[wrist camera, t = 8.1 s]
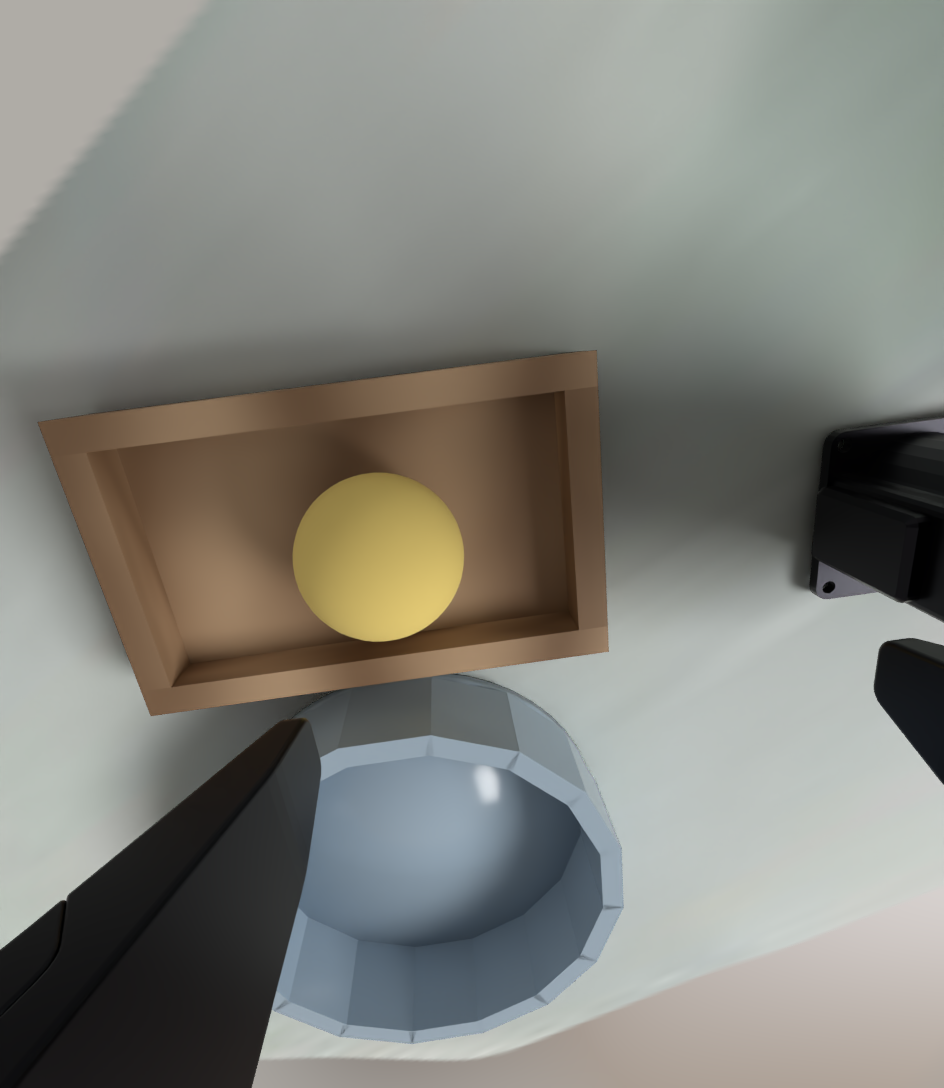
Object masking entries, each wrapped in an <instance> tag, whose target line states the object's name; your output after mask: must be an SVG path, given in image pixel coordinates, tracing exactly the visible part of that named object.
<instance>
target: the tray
mask: <svg viewBox="0 0 944 1088" xmlns="http://www.w3.org/2000/svg"><path fill="white" fill-rule="evenodd" d="M38 425H39V427H40V430H41V433H42V435H43V438H44V440H45V443H46V446H47V448H48V451H49V453H50V456H51V458H52V461H53V464H54V466H55V469H56V471H57V474H58V477H59V479H60V482H61V484H62V487H63V490H64V492H65V495H66V497H67V500H68V503H69V505H70V508H71V510H72V513H73V516H74V518H75V521H76V523H77V526H78V529H79V531H80V534H81V536H82V539H83V541H84V544H85V547H86V549H87V552H88V554H89V557H90V560H91V562H92V565H93V567H94V570H95V573H96V575H97V578H98V580H99V583H100V586H101V588H102V591H103V593H104V596H105V599H106V601H107V604H108V606H109V609H110V611H111V614H112V617H113V619H114V622H115V624H116V627H117V630H118V632H119V635H120V637H121V640H122V643H123V645H124V648H125V650H126V653H127V656H128V658H129V661H130V663H131V666H132V669H133V671H134V674H135V676H136V679H137V682H138V684H139V687H140V689H141V692H142V694H143V697H144V700H145V702H146V705H147V707H148V710H149V713H150V715H151V716H155V715H162V714H169V713H176V712H183V711H190V710H198V709H205V708H212V707H219V706H226V705H233V704H240V703H247V702H254V701H261V700H268V699H276V698H283V697H290V696H297V695H304V694H311V693H318V692H325V691H332V690H339V689H347V688H354V687H361V686H368V685H375V684H382V683H389V682H396V681H403V680H410V679H417V678H425V677H432V676H439V675H446V674H453V673H460V672H467V671H474V670H481V669H488V668H495V667H503V666H510V665H517V664H524V663H531V662H538V661H545V660H552V659H559V658H566V657H573V656H581V655H588V654H595V653H602V652H609V647H608V622H607V597H606V572H605V547H604V522H603V497H602V472H601V447H600V422H599V397H598V372H597V350H594V351H579V352H569V353H561V354H554V355H546V356H538V357H530V358H522V359H515V360H507V361H499V362H491V363H484V364H476V365H468V366H460V367H452V368H445V369H437V370H429V371H421V372H413V373H406V374H398V375H390V376H382V377H374V378H367V379H359V380H351V381H343V382H335V383H328V384H320V385H312V386H304V387H297V388H289V389H281V390H273V391H265V392H258V393H250V394H242V395H234V396H226V397H219V398H211V399H203V400H195V401H187V402H180V403H172V404H164V405H156V406H148V407H141V408H133V409H125V410H117V411H109V412H102V413H94V414H87V415H81V416H74V417H68V418H61V419H55V420H48V421H42V422H38ZM367 473H391V474H397V475H401V476H404V477H408V478H410V479H413V480H415V481H417V482H419V483H421V484H422V485H424V486H426V487H427V488H429V489H430V490H431V491H433V492H434V493H435V494H436V495H437V496H439V498H440V499H441V500H442V501H443V502H444V503H445V504H446V506H447V507H448V508H449V510H450V511H451V513H452V514H453V516H454V518H455V520H456V522H457V524H458V527H459V530H460V533H461V536H462V541H463V546H464V566H463V573H462V578H461V581H460V584H459V587H458V589H457V592H456V594H455V596H454V597H453V599H452V601H451V603H450V604H449V605H448V607H447V608H446V609H445V611H444V612H443V613H442V614H441V615H440V616H439V617H438V618H437V619H436V620H435V621H434V622H432V623H431V624H430V625H428V626H427V627H425V628H424V629H422V630H421V631H419V632H417V633H415V634H412V635H410V636H407V637H404V638H401V639H397V640H390V641H380V642H373V641H364V640H360V639H356V638H352V637H349V636H346V635H344V634H341V633H339V632H338V631H336V630H334V629H332V628H331V627H329V626H328V625H327V624H325V623H324V622H323V621H321V620H320V619H319V618H318V617H317V616H316V615H315V614H314V613H313V612H312V610H311V609H310V607H309V606H308V605H307V603H306V602H305V600H304V599H303V597H302V595H301V593H300V591H299V588H298V585H297V582H296V579H295V575H294V569H293V546H294V540H295V536H296V533H297V529H298V527H299V525H300V522H301V520H302V518H303V516H304V515H305V513H306V511H307V510H308V508H309V507H310V506H311V504H312V503H313V502H314V501H315V500H316V499H317V498H318V497H319V496H320V495H321V494H322V493H323V492H325V491H326V490H327V489H329V488H330V487H331V486H333V485H335V484H337V483H338V482H340V481H343V480H345V479H347V478H350V477H353V476H357V475H361V474H367Z"/></svg>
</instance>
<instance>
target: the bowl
mask: <svg viewBox="0 0 944 1088" xmlns="http://www.w3.org/2000/svg"><path fill="white" fill-rule="evenodd" d="M296 718H306V719H308V720H309V722H310V724H311V727H312V730H313V734H314V738H315V741H316V745H317V749H318V752H319V756H320V760H321V780H320V787H319V793H318V800H317V807H316V814H315V821H314V827H313V834H312V841H311V848H310V855H309V861H308V867H307V872H306V877H305V881H304V886H303V890H302V894H301V898H300V902H299V906H298V909H297V913H296V917H295V921H294V925H293V929H292V933H291V937H290V941H289V944H288V948H287V952H286V956H285V960H284V964H283V968H282V972H281V975H280V979H279V983H278V987H277V991H276V995H275V999H274V1003H273V1007H272V1009H273V1010H274V1011H275V1012H278V1013H280V1014H283V1015H285V1016H288V1017H290V1018H293V1019H295V1020H298V1021H301V1022H303V1023H306V1024H308V1025H311V1026H313V1027H316V1028H318V1029H321V1030H323V1031H326V1032H328V1033H331V1034H333V1035H336V1036H338V1037H347V1038H357V1039H367V1040H377V1041H387V1042H398V1043H408V1044H415V1043H421V1042H427V1041H434V1040H440V1039H447V1038H453V1037H459V1036H466V1035H472V1034H479V1033H484V1032H486V1031H489V1030H491V1029H493V1028H495V1027H498V1026H500V1025H502V1024H505V1023H507V1022H509V1021H511V1020H514V1019H516V1018H518V1017H520V1016H523V1015H525V1014H527V1013H529V1012H532V1011H534V1010H536V1009H539V1008H541V1007H543V1006H545V1005H548V1004H549V1003H550V1002H551V1001H552V1000H554V999H555V998H556V997H557V996H558V995H559V994H560V993H562V992H563V991H564V990H565V989H566V988H567V987H568V986H570V985H571V984H572V983H573V982H574V981H575V980H576V979H577V978H579V977H580V976H581V975H582V974H583V973H584V972H585V971H587V970H588V969H589V968H590V967H591V966H592V965H593V964H595V963H596V962H597V960H598V958H599V956H600V954H601V952H602V950H603V948H604V946H605V944H606V942H607V940H608V938H609V936H610V934H611V932H612V930H613V928H614V926H615V924H616V922H617V920H618V918H619V916H620V914H621V912H622V910H623V908H624V905H623V877H622V848H621V846H620V843H619V840H618V838H617V835H616V833H615V830H614V827H613V825H612V822H611V819H610V817H609V814H608V812H607V809H606V806H605V804H604V801H603V798H602V796H601V793H600V791H599V788H598V785H597V783H596V780H595V779H594V777H593V775H592V774H591V772H590V771H589V769H588V767H587V766H586V763H585V761H584V759H583V757H582V755H581V753H580V751H579V749H578V747H577V746H576V744H575V743H574V741H573V740H572V739H571V737H570V736H569V735H568V733H567V732H566V730H565V729H564V728H563V727H562V726H561V725H560V724H559V723H558V722H557V721H556V720H555V719H554V718H553V717H552V716H551V715H549V714H548V713H547V712H545V711H544V710H543V709H541V708H540V707H539V706H537V705H536V704H535V703H534V702H532V701H530V700H528V699H526V698H525V697H523V696H521V695H519V694H517V693H516V692H514V691H511V690H509V689H506V688H504V687H501V686H499V685H497V684H494V683H491V682H488V681H484V680H480V679H476V678H473V677H469V676H462V675H455V674H446V675H439V676H432V677H425V678H417V679H410V680H403V681H396V682H389V683H382V684H375V685H368V686H361V687H354V688H347V689H339V690H337V691H335V692H333V693H330V694H328V695H326V696H324V697H322V698H320V699H319V700H317V701H315V702H314V703H312V704H311V705H309V706H307V707H306V708H304V709H303V710H301V711H300V712H299V713H298V714H297V715H295V716H294V717H293V718H292V719H296Z"/></svg>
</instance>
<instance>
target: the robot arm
mask: <svg viewBox="0 0 944 1088" xmlns="http://www.w3.org/2000/svg"><path fill="white" fill-rule="evenodd" d="M842 439H843V440H844V444H843V447H842V448H841V449H840V450H838V444H839V442H840V441H841V440H842ZM826 582H828V584H827V586H826V587H825V588H823V585H824V584H825V583H826ZM822 588H823V589H822ZM810 590H811V592H812V593H814V594H815V595H817V596H819V597H820V598H822V599H831V598H838V597H846V596H853V595H860V594H867V593H874V592H879V593H881V594H883V595H885V596H887V597H889V598H891V599H893V600H895V601H897V602H900V603H904V602H905V603H907V604H909V605H911V606H912V607H914V608H916V609H918V610H920V611H922V612H924V613H926V614H928V615H930V616H932V617H934V618H936V619H938V620H940V621H942V622H944V416H939V417H931V418H924V419H916V420H909V421H901V422H894V423H886V424H879V425H871V426H864V427H856V428H848V429H841V430H836V431H833V432H832V433H831V434H829V435H828V436H827V438H826V439H825V441H824V445H823V453H822V463H821V474H820V484H819V493H818V495H817V505H816V515H815V525H814V535H813V545H812V564H811V574H810ZM874 692H875V696H876V698H877V700H878V702H879V703H880V705H881V706H882V707H883V709H884V710H885V711H886V712H887V714H888V715H889V716H890V718H891V719H892V720H893V721H894V723H895V724H896V725H897V726H898V728H899V729H900V730H901V732H902V733H903V734H904V735H905V737H906V738H907V739H908V740H909V742H910V743H911V744H912V746H913V747H914V748H915V749H916V751H917V752H918V753H919V754H920V756H921V757H922V758H923V760H924V761H925V762H926V763H927V765H928V766H929V767H930V768H931V770H932V771H933V772H934V774H935V775H936V776H937V777H938V778H939V780H940V781H941V782H942V783H943V785H944V646H943V645H939V644H935V643H931V642H927V641H923V640H919V639H915V638H906V639H899V640H892V641H886V642H885V643H883V644H882V645H881V647H880V648H879V652H878V659H877V666H876V673H875V680H874ZM320 780H321V760H320V756H319V752H318V749H317V745H316V741H315V738H314V734H313V730H312V727H311V724H310V722H309V720H308V719H306V718H296V719H289V720H282V721H280V722H278V723H277V724H276V725H275V726H273V727H272V728H271V729H270V730H269V731H267V732H266V733H265V734H264V735H262V736H261V737H260V738H259V739H258V740H256V741H255V742H254V743H253V744H252V745H250V746H249V747H248V748H247V749H245V750H244V751H243V752H242V753H241V754H239V755H238V756H237V757H236V758H234V759H233V760H232V761H231V762H230V763H228V764H227V765H226V766H225V767H223V768H222V769H221V770H220V771H219V772H217V773H216V774H215V775H214V776H213V777H211V778H210V779H209V780H208V781H206V782H205V783H204V784H203V785H202V786H200V787H199V788H198V789H197V790H195V791H194V792H193V793H192V794H191V795H189V796H188V797H187V798H186V799H184V800H183V801H182V802H181V803H180V804H178V805H177V806H176V807H175V808H173V809H172V810H171V811H170V812H169V813H167V814H166V815H165V816H164V817H163V818H161V819H160V820H159V821H158V822H156V823H155V824H154V825H153V826H152V827H150V828H149V829H148V830H147V831H145V832H144V833H143V834H142V835H141V836H139V837H138V838H137V839H136V840H134V841H133V842H132V843H131V844H130V845H128V846H127V847H126V848H125V849H123V850H122V851H121V852H120V853H119V854H117V855H116V856H115V857H114V858H112V859H111V860H110V861H109V862H108V863H106V864H105V865H104V866H103V867H102V868H100V869H99V870H98V871H97V872H95V873H94V874H93V875H92V876H91V877H89V878H88V879H87V880H86V881H84V882H83V883H82V884H81V885H80V886H78V887H77V888H76V889H75V890H73V891H72V892H71V893H70V894H69V895H68V896H67V900H66V901H65V900H62V901H60V902H59V903H57V904H56V905H55V906H54V907H53V908H51V909H50V910H49V911H48V912H47V913H45V914H44V915H43V916H42V917H40V918H39V919H38V920H37V921H36V922H34V923H33V924H32V925H31V926H29V927H28V928H27V929H26V930H24V931H23V932H22V933H21V934H19V935H18V936H17V937H16V938H14V939H13V940H12V941H11V942H9V943H8V944H7V945H6V946H4V947H3V948H2V949H1V950H0V1088H252V1084H253V1080H254V1076H255V1073H256V1069H257V1065H258V1061H259V1057H260V1053H261V1049H262V1045H263V1042H264V1038H265V1034H266V1030H267V1026H268V1022H269V1018H270V1014H271V1010H272V1007H273V1003H274V999H275V995H276V991H277V987H278V983H279V979H280V975H281V972H282V968H283V964H284V960H285V956H286V952H287V948H288V944H289V941H290V937H291V933H292V929H293V925H294V921H295V917H296V913H297V909H298V906H299V902H300V898H301V894H302V890H303V886H304V881H305V877H306V872H307V867H308V861H309V855H310V848H311V841H312V834H313V827H314V821H315V814H316V807H317V800H318V793H319V787H320Z"/></svg>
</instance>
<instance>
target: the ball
mask: <svg viewBox="0 0 944 1088" xmlns="http://www.w3.org/2000/svg"><path fill="white" fill-rule="evenodd" d="M463 566H464V546H463V541H462V536H461V533H460V530H459V527H458V524H457V522H456V520H455V518H454V516H453V514H452V513H451V511H450V510H449V508H448V507H447V506H446V504H445V503H444V502H443V501H442V500H441V499H440V498H439V496H437V495H436V494H435V493H434V492H433V491H431V490H430V489H429V488H427V487H426V486H424V485H422V484H421V483H419V482H417V481H415V480H413V479H410V478H408V477H404V476H401V475H397V474H391V473H367V474H361V475H357V476H353V477H350V478H347V479H345V480H343V481H340V482H338V483H337V484H335V485H333V486H331V487H330V488H329V489H327V490H326V491H325V492H323V493H322V494H321V495H320V496H319V497H318V498H317V499H316V500H315V501H314V502H313V503H312V504H311V506H310V507H309V508H308V510H307V511H306V513H305V515H304V516H303V518H302V520H301V522H300V525H299V527H298V529H297V533H296V536H295V540H294V546H293V569H294V575H295V579H296V582H297V585H298V588H299V591H300V593H301V595H302V597H303V599H304V600H305V602H306V603H307V605H308V606H309V607H310V609H311V610H312V612H313V613H314V614H315V615H316V616H317V617H318V618H319V619H320V620H321V621H323V622H324V623H325V624H327V625H328V626H329V627H331V628H332V629H334V630H336V631H338V632H339V633H341V634H344V635H346V636H349V637H352V638H356V639H360V640H364V641H373V642H380V641H390V640H397V639H401V638H404V637H407V636H410V635H412V634H415V633H417V632H419V631H421V630H422V629H424V628H425V627H427V626H428V625H430V624H431V623H432V622H434V621H435V620H436V619H437V618H438V617H439V616H440V615H441V614H442V613H443V612H444V611H445V609H446V608H447V607H448V605H449V604H450V603H451V601H452V599H453V597H454V596H455V594H456V592H457V589H458V587H459V584H460V581H461V578H462V573H463Z"/></svg>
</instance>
